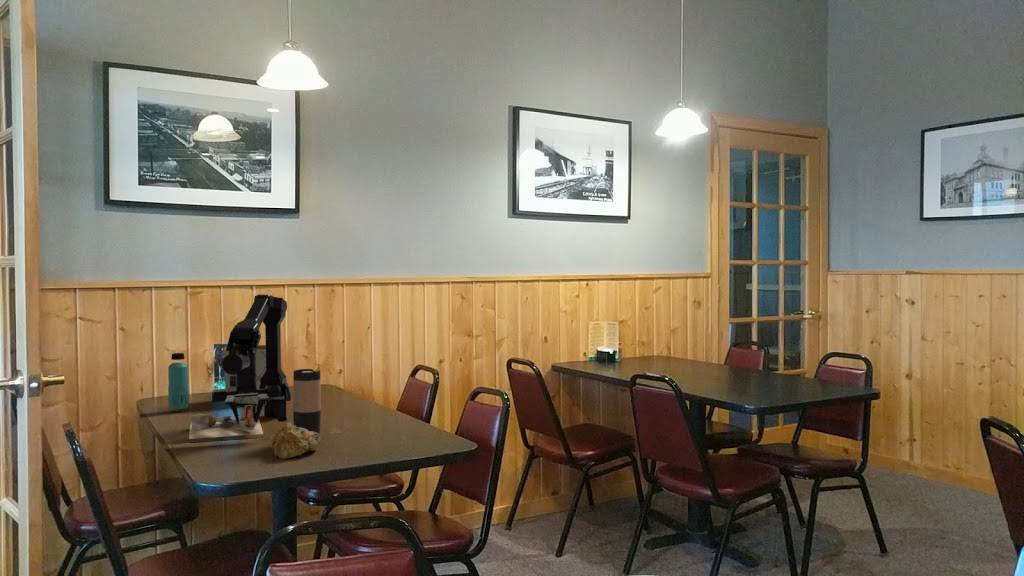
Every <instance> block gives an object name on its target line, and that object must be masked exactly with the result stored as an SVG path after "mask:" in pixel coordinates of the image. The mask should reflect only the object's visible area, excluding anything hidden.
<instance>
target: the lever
mask: <svg viewBox="0 0 1024 576" xmlns="http://www.w3.org/2000/svg"><path fill="white" fill-rule="evenodd" d="M256 406H257V404H246V405H244V421H245V423H243V422H240V421H241V420H239V424H237V421H236V419H233V418H232V417H231V416H230V415H229V416H227V415H226V416H217V417H216V416H215V417H216V422H219V423H222V424H225V425H229V426H232V427H235V428H239V429H242V430H245V431H249V430H254V427H255V426H256Z"/></svg>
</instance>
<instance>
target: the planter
mask: <svg viewBox="0 0 1024 576" xmlns="http://www.w3.org/2000/svg"><path fill="white" fill-rule="evenodd" d="M226 348H227V346H225V347H223V348H222V354H223V357H222V358H223V359H224V358H225V357H226V356H227V355H229V351H226ZM256 349H257V351H256V381H257V389H259V386H260V383H261V382H260V379H261V377H262V376H263V375H264V373H265V371H266V344H259V345H258V348H256ZM223 372H224V383H225V385H224V387H225V389H226V391H227V392H228V391H236V390H235V387H233V388H230V376H235V374H234V375H231V374H228V373H226V372H225V371H224V370H223ZM257 397H258V396H247V397H235V400H236V405H237V404H239V405H240V404H241V405H242V404H244V405H245V404H246V405H257ZM265 403H266V401H265Z"/></svg>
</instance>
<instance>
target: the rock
mask: <svg viewBox="0 0 1024 576" xmlns="http://www.w3.org/2000/svg"><path fill="white" fill-rule="evenodd" d="M321 436H322V435H321V433H320V434H319V433H318V432H312V431H309V430H307V429H305V428H300V427H296V426H295V425H294V424H292V422H291V421H289V422H287V423H284V425H283V426H282V427H281V428H280V429H278V430H277V432H276V433H275V434H274V436H273V439H272V441H271V444H270V446H271V449H274V450H273V452H274V454H273V455H274V457H276V458H279V459H282V460H283V459H284V460H285V459H291V458H294V457H297V456H302V455H303V454H305V453H307V452H316V451H317V448H318V447H319V444H320V442H321V439H322V437H321Z"/></svg>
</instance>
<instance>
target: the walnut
mask: <svg viewBox="0 0 1024 576" xmlns="http://www.w3.org/2000/svg"><path fill="white" fill-rule="evenodd" d="M208 415H209V427H212V426H214V425H215V424H216V416H215V415H213V414H208Z"/></svg>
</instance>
